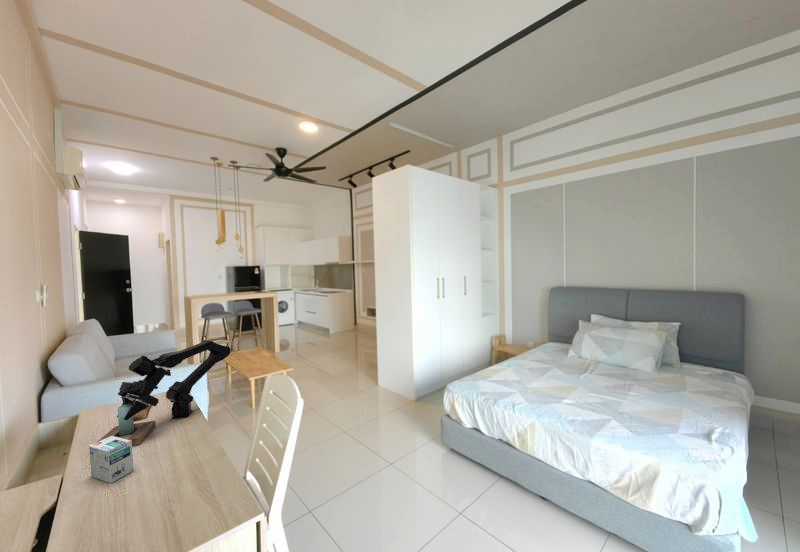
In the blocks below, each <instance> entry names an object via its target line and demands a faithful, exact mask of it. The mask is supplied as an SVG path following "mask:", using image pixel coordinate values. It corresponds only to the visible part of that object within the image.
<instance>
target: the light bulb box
mask: <svg viewBox="0 0 800 552" xmlns="http://www.w3.org/2000/svg"><path fill="white" fill-rule="evenodd" d="M88 450H89V460H90V461H89V464H90V475H91V476H92V477H91V476H90V477H91V478H95V479H97V480H101V481H104V482H106V483H108V484H109V483H110V484H113V482H116V481H117V480H119V479H121V478H123V477H125V476H126V475H128V474H130V473H132V472H134V458H133V457H134V456H133V447H132V440H128V439H123V438H119V437H115V436H110V437H108V438H106V439H103V440H101V441H99V442H97V441H96V442H94V443H92V444H89V445H88Z"/></svg>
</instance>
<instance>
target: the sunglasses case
mask: <svg viewBox="0 0 800 552" xmlns="http://www.w3.org/2000/svg"><path fill="white" fill-rule="evenodd" d="M148 406H149V407H147V408H145V409H143V410H142V411H140V412H138V413H137V414H135V415H134V416H133V423H135V422H138V421H142V420H147V419H148V415H149V412H150V410H151V408H152V406H151V405H150V404H148Z"/></svg>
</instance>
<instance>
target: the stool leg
mask: <svg viewBox="0 0 800 552" xmlns="http://www.w3.org/2000/svg"><path fill="white" fill-rule="evenodd" d="M131 407H132V404H125V405H122V404H121V405H120V406H118V407H117V415H118V418H117V419H118V420H117V421H118V426H119V437H120V436H126V435H132V434H133V433H134V424H135V423H134V422H133V416H132V417H131V418H129V419H128V420H124V418H125V416H126V414H127V413H128V411H129V410H130V408H131Z"/></svg>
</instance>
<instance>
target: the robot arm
mask: <svg viewBox="0 0 800 552" xmlns="http://www.w3.org/2000/svg"><path fill="white" fill-rule="evenodd" d="M206 351H209V353H208V354H209V355H208V357H207V358H206V359H205V360H204V361H203V362H201V364H199V365H198V366H197V367H196V368H195V369H194V370H193V371H192V372H191V373H190V374H189V375H187V377H186V378H185V379H184V380H182V381H177V380H176V381H175V382H174V383H173V384H172V385H171V386H169V387H168V390H166V393H165V397H166V399H167V400H169V401H170V402H171V403H172V407H171V416H172V417H171V420H176V419H181V418H188V417H190V415H191V414H192V412H193V411H194V410H193V409H192V402H194V401H193V400H194V396H193V395H192V394H191V391H192V388H193V387H194V385H196V384H197V382H198V381H200V379H202V378H203V377H204V376H205V374H207V373H208V372H209V371H210V370H211V369H212V368H213V367H214V366H215V365H216V364H217V363H219V362H221V361H224V360H225V359H226V358H228V357H229V356H230V354H231V347H230V346H229V345H228V346H227V345H222V344H219V343H217V342H214V341H213V340H204V341H201V342H198V343H197V344H194V345H191V346H190V347H187V348H184V349H183V348H182V349H181V350H177V351H172V352H171V351H170V352H166V353H162V354H160V355H159V357H157V358H153V359H150V358H149V357H147V356H146V355H141V356H140V357H138V358H136V359H135V360H134V361H132V362H131V363H130V364H129V367H128V370H129V371H131V372H132V373H135V374H137V375H139V376H140V377H144V378H143V379H140V380H139V379H138V381H133V382H130V381H122V382H121V384H120V386H119V389H118V393H117V395H118V396H120V398H121V399H122V400H121V401H122V404H121V406H122V405H125V404H132V407H131V408H130V410H129V411H128V413H127V414H126V416H125V418H124V420H128V419H129V418H131V417H132V416H134V415H135V414H137V413H138V412H140V411H142V410H143V409H145V408H147V407H149V406H148V404H150V405H151V407H156V406H157V405H158V404H159V398H157V397H155V396H153V395H151V394H153V392H154V390H158V389H159V386H158V385H159V383H161V381H162V380H163V379H164V377H165V376H167V377H171V376H172V373H171V369H172V368H175V367H177V366H178V365H180V364H181V363H182V362H183V361H185V360H186V359H188V358H191V357H194V356H196V355H198V354H201V353H203V352H206ZM165 368H166V369H165ZM190 413H191V414H190ZM116 418H117V419H118V414H117V415H116Z"/></svg>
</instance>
